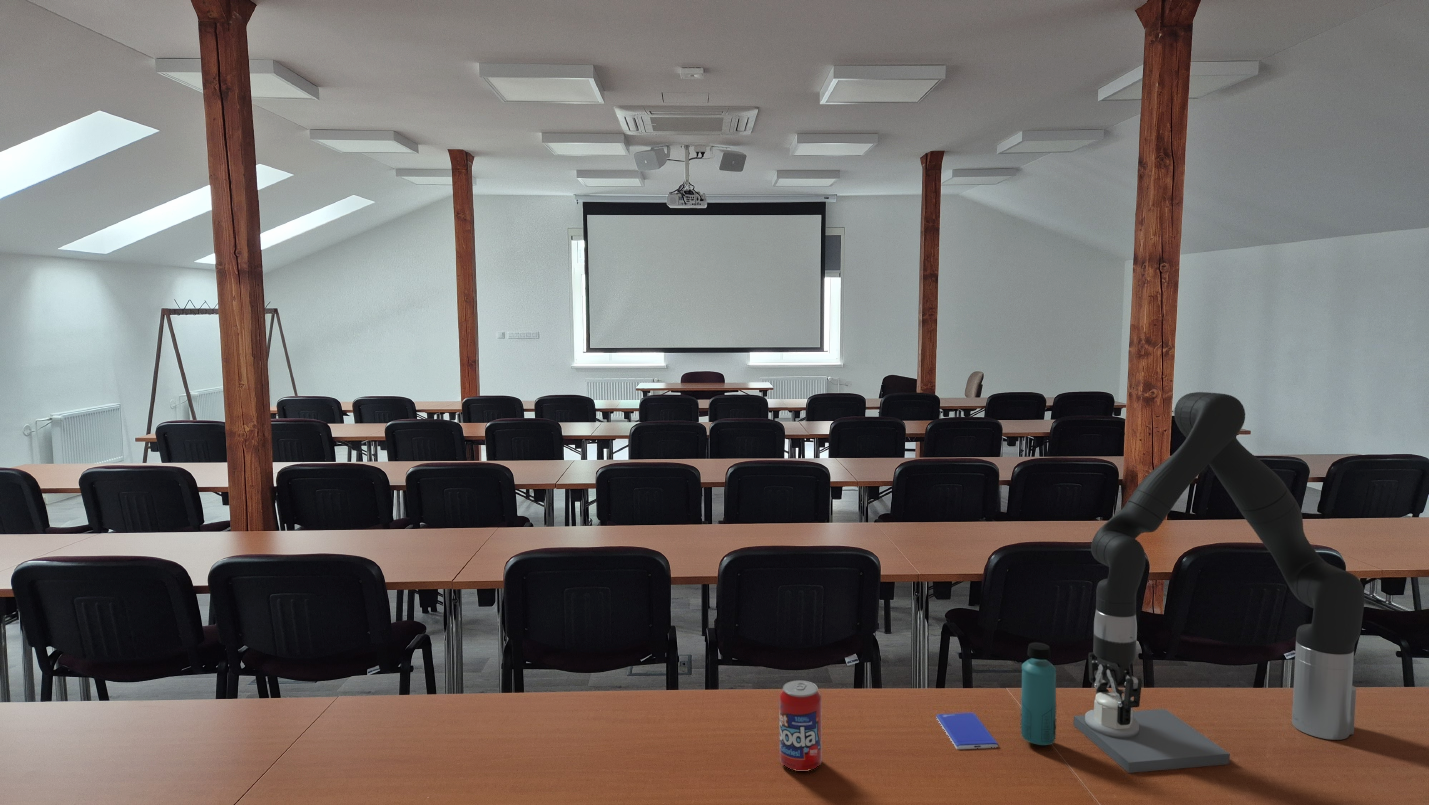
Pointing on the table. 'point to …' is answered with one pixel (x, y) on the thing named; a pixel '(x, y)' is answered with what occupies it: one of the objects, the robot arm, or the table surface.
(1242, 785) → the table surface
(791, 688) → the soda can
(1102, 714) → the cap
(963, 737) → the hard drive
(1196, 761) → the threaded post stand
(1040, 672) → the beverage bottle
